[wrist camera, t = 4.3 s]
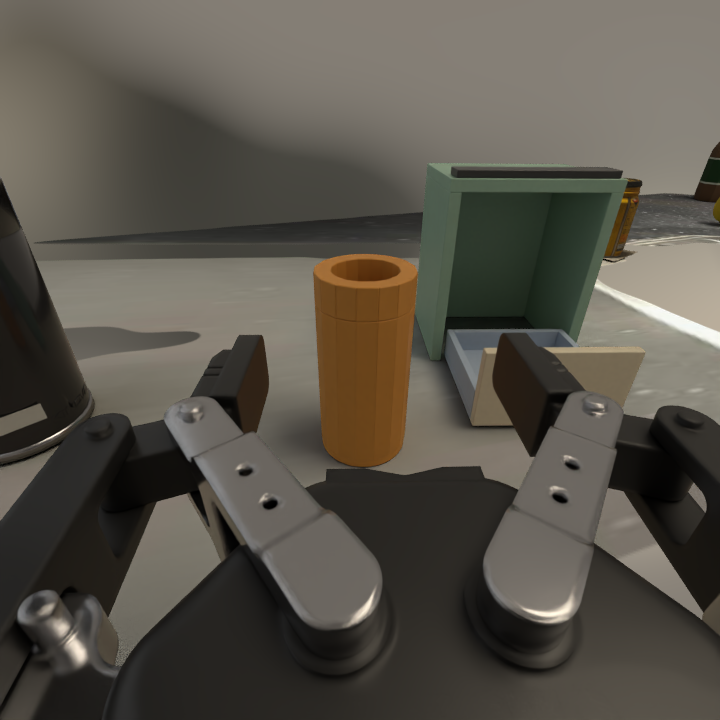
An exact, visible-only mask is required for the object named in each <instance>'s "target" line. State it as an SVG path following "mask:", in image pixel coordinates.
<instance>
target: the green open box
mask: <svg viewBox="0 0 720 720" xmlns="http://www.w3.org/2000/svg"><path fill="white" fill-rule="evenodd" d="M622 173H623V171H622V170H617V169H613V168H608V167H574V166H570V165H565V164H433V163H431V164H429V163H428V164H427V176H426V188H425V199H424V211H423V223H422V235H421V247H420V259H419V271H418V283H417V295H416V307H415V315H416V318H417V321H418V324H419V327H420V330H421V333H422V336H423V339H424V342H425V345H426V348H427V351H428V354H429V357H430V360H441V352H442V344H443V337H444V329H445V321H446V317H523V316H524V317H525V318H526V319H527V321H528V322H529V323H530V324H531V325H532V326H533V327H534V329H563V330H564V331H565V332H566V333H567V334H568V335H569V337H570V338H571V339H572V340H573V341H574V342H575V343H576V342H577V339H578V336H579V332H580V329H581V326H582V323H583V320H584V317H585V314H586V311H587V307H588V304H589V301H590V298H591V295H592V292H593V289H594V285H595V282H596V279H597V276H598V273H599V270H600V267H601V263H602V260H603V257H604V254H605V251H606V248H607V245H608V242H609V238H610V235H611V232H612V229H613V226H614V223H615V220H616V216H617V213H618V210H619V207H620V204H621V201H622V198H623V194H624V192H625V188H626V185H627V182H628V179H624V178H621V176H622Z"/></svg>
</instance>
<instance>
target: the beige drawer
mask: <svg viewBox="0 0 720 720" xmlns="http://www.w3.org/2000/svg"><path fill="white" fill-rule="evenodd" d="M502 333H527V334H528V335H529V337H530V338H531V339H532V340H533V341H534V343H535V344H536V345H537V346H538V347H543V348H545V349H546V350H548V351H550V352H551V353H553V354H555V356H556V357H557V358H558V359H559V360H560V361H561V362H562V365H564V366H565V367H566V368H567V369H568V372H570V373H571V374H572V375H573V376H574V377H575V378H576V380H577V381H578V382H579V383H580V384H581V385H582V386H583V388H584V389H585V390H586V391H591V392H596V393H599V394H602V395H605V396H607V397H609V398H611V399H613V400H614V401H616V402H617V403H618V404H619V405H620V406H621V407H623V405H624V403H625V400H626V398H627V396H628V393H629V391H630V389H631V386H632V384H633V382H634V379H635V377H636V375H637V372H638V370H639V367H640V365H641V363H642V360H643V358H644V356H645V353H646V352H645V351H644V350H643V349H642V348H640V347H579V346H578V345H577V344H576V343H575V342H574V341H573V340H572V339H571V338H570V337H569V335H568V334H567V333H566V332H565V331H564V330H563V329H454V330H453V329H447V334H446V341H445V350H444V356H445V358H446V361H447V363H448V366H449V368H450V371H451V373H452V376H453V378H454V381H455V383H456V386H457V388H458V391H459V393H460V396H461V398H462V401H463V403H464V406H465V408H466V411H467V413H468V416H469V418H470V421H471V423H472V425H473V426H494V425H513V424H512V422H511V420H510V418H509V416H508V415H507V413H506V411H505V409H504V407H503V405H502V403H501V402H500V400H499V398H498V396H497V394H496V392H495V390H494V388H493V383H492V373H493V368H494V362H495V357H496V352H497V347H498V342H499V338H500V336H501V334H502Z"/></svg>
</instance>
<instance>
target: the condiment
mask: <svg viewBox="0 0 720 720" xmlns="http://www.w3.org/2000/svg"><path fill="white" fill-rule="evenodd" d="M624 179H628V178H624ZM641 186H642V181H641V180H637V179H630V178H629V179H628V182H627V185H626V188H625V192H624V194H623V198H622V201H621V204H620V207H619V210H618V213H617V216H616V220H615V223H614V226H613V229H612V232H611V235H610V238H609V242H608V245H607V248H606V251H605V254H604V257H603V259H607V260H612V261H617V260H620V259H623V258H625V257H627V256H629V255H632V254H634V253H636V252H635V251H627V250H623V248H624V246H625V243H626V239H627V236H628V233H629V230H630V227H631V224H632V221H633V219H634V215H635V213H636V210H637V207H638V204H639V199H638V195H639V193H640V187H641Z"/></svg>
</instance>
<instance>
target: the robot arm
mask: <svg viewBox="0 0 720 720" xmlns="http://www.w3.org/2000/svg"><path fill="white" fill-rule="evenodd" d="M492 383H493V388H494V390H495V392H496V394H497V396H498V398H499V400H500V402H501V403H502V405H503V407H504V409H505V411H506V413H507V415H508V416H509V418H510V420H511V422H512V424H513V426H514V428H515V429H516V431H517V433H518V435H519V437H520V439H521V441H522V442H523V444H524V446H525V448H526V450H527V452H528V454H529V455H530V457H535V458H534V460H533V462H532V464H531V466H530V468H529V470H528V472H527V474H526V476H525V478H524V480H523V482H522V485H521V487H520V489H519V490H517V489H515V488H513V487H511V486H509V485H507V484H504V483H501V482H498V481H495V480H491V479H487V478H485V477H484V475H483V472H482V470H481V467H480V466H470V467H441V468H436V469H432V470H428V471H423V472H419V473H414V474H410V475H399V474H393V473H387V472H382V471H376V470H370V469H365V468H364V469H327V472H326V481H323V482H320V483H317V484H314V485H311V486H309V487H307V488H304V487H303V486H302V485H301V484H300V482H299V481H298V480H297V479H296V478H295V477H294V476H293V474H292V473H291V472H290V471H289V470H288V469H287V468H286V467H285V465H284V464H283V463H282V462H281V461H280V460H279V459H278V457H277V456H276V455H275V454H274V453H273V452H272V451H271V450H270V448H269V447H268V446H267V445H266V444H265V443H264V442H263V440H262V439H261V438H260V437H259V436H258V435H257V434H256V432H257V429H258V425H259V422H260V418H261V415H262V411H263V408H264V404H265V401H266V397H267V394H268V388H269V375H268V368H267V360H266V353H265V345H264V339H263V336H262V335H239V336H238V338H237V340H236V342H235V344H234V346H233V348H232V350H222V351H221V352H220V353H218V354H217V355H216V356H214V357H213V358H212V360H211V361H210V363H209V365H208V368H207V369H206V370H205V372H204V374H203V376H202V377H201V379H200V381H199V383H198V385H197V386H196V388H195V390H194V392H193V393H192V395H191V397H190V398H186V399H183V400H181V401H179V402H177V403H175V404H173V405H172V406H171V407H170V408H168V410H167V411H166V412H165V415H164V419H163V420H160V421H156V422H152V423H147V424H143V425H138V426H134V427H132V425H131V423H130V420H129V418H128V417H127V416H125V415H122V414H117V413H109V414H103V415H99V416H95V417H92V418H90V419H89V417H90V416H91V414H92V412H93V409H94V399H93V397H92V394H91V392H90V390H89V389H88V388H87V386H86V383H85V381H84V378H83V376H82V374H81V371H80V369H79V366H78V364H77V361H76V358H75V356H74V353H73V351H72V349H71V346H70V344H69V341H68V339H67V336H66V334H65V332H64V329H63V327H62V324H61V322H60V319H59V317H58V314H57V312H56V310H55V307H54V305H53V302H52V300H51V297H50V295H49V293H48V290H47V288H46V285H45V283H44V280H43V278H42V276H41V273H40V271H39V268H38V266H37V263H36V261H35V259H34V256H33V254H32V251H31V249H30V246H29V244H28V242H27V239H26V237H25V234H24V232H23V229H22V227H21V225H20V222H19V220H18V218H17V215H16V213H15V210H14V208H13V205H12V203H11V200H10V198H9V196H8V193H7V191H6V188H5V186H4V183H3V181H2V178H1V177H0V464H4V463H9V462H13V461H16V460H20V459H23V458H26V457H29V456H31V455H34V454H37V453H39V452H41V451H44V450H46V449H48V448H50V447H52V446H54V445H56V444H57V443H59V442H61V441H63V440H64V439H65V440H64V441H63V442H62V443H61V445H60V446H59V447H58V448H57V450H56V451H55V452H54V454H53V455H52V456H51V457H50V459H49V460H48V461H47V462H46V464H45V465H44V466H43V468H42V469H41V470H40V471H39V473H38V474H37V475H36V476H35V478H34V479H33V480H32V482H31V483H30V484H29V485H28V487H27V488H26V489H25V490H24V492H23V493H22V494H21V496H20V497H19V498H18V499H17V501H16V502H15V503H14V504H13V506H12V507H11V508H10V510H9V511H8V512H7V513H6V515H5V516H4V517H3V518H2V520H1V521H0V720H720V426H719V425H718V424H717V423H716V422H715V421H714V420H712V419H711V418H709V417H708V416H706V415H704V414H702V413H700V412H698V411H695V410H692V409H689V408H685V407H681V406H663V407H661V408H659V409H658V411H657V413H656V415H655V417H654V419H647V418H641V417H636V416H630V415H625V414H624V412H623V409H622V407H621V406H620V405H619V404H618V403H617V402H616V401H614V400H613V399H611V398H609V397H607V396H605V395H602V394H599V393H596V392H591V391H586V390H585V389H584V388H583V386H582V385H581V384H580V383H579V382H578V381H577V380H576V378H575V377H574V376H573V375H572V374H571V373H570V372H568V369H567V368H566V367H565V366H564V365H562V362H561V361H560V360H559V359H558V358H557V357H556V356H555V354H553V353H551V352H550V351H548V350H546V349H545V348H543V347H538V346H537V345H536V344H535V343H534V341H533V340H532V339H531V338H530V337H529V335H528V334H527V333H502V334H501V336H500V338H499V342H498V347H497V352H496V357H495V362H494V368H493V373H492ZM693 483H695V484H696V485H697V487H698V488H699V489H700V490H701V491H702V493H703V494H704V496H705V499H706V503H707V510H706V513H705V512H704V511H703V510H702V508H701V507H700V506H699V505H698V504H697V502H696V501H695V500H694V499H693V498H692V496H691V495H690V494H689V493H688V491H689V490H690V488H691V486H692V484H693ZM607 488H611V489H616V490H620V491H624V493H625V494H626V496H627V498H628V499H629V501H630V502H631V504H632V505H633V507H634V508H635V510H636V511H637V513H638V514H639V516H640V517H641V519H642V520H643V522H644V523H645V525H646V526H647V528H648V529H649V531H650V532H651V534H652V535H653V537H654V538H655V540H656V542H657V543H658V545H659V546H660V548H661V549H662V551H663V552H664V554H665V555H666V557H667V558H668V560H669V561H670V563H671V564H672V566H673V567H674V569H675V570H676V572H677V573H678V575H679V576H680V578H681V579H682V581H683V582H684V584H685V585H686V587H687V588H688V590H689V591H690V593H691V595H692V596H693V598H694V599H695V600H696V602H697V604H698V605H699V607H700V608H701V609H702V611H703V616H702V620H701V619H700V618H698V617H697V616H696V615H695V614H693V613H692V612H690V611H689V610H687V609H686V608H685V607H683V606H682V605H680V604H679V603H678V602H676V601H675V600H673V599H672V598H670V597H669V596H668V595H666V594H665V593H663V592H662V591H661V590H659V589H658V588H657V587H655V586H654V585H652V584H651V583H650V582H648V581H647V580H645V579H644V578H642V577H641V576H640V575H638V574H637V573H635V572H634V571H633V570H631V569H630V568H628V567H627V566H625V565H624V564H623V563H621V562H620V561H619V560H617V559H616V558H614V557H613V556H612V555H610V554H609V553H607V552H606V551H605V550H603V549H602V548H600V547H599V546H598V545H596V544H595V543H594V539H595V535H596V531H597V527H598V523H599V519H600V515H601V512H602V508H603V504H604V500H605V496H606V492H607ZM183 494H187V495H188V497H189V499H190V501H191V503H192V504H193V506H194V508H195V510H196V512H197V513H198V515H199V517H200V519H201V521H202V522H203V524H204V526H205V528H206V530H207V531H208V533H209V535H210V537H211V539H212V541H213V543H214V545H215V548H216V550H217V553H218V555H219V558H220V560H221V563H220V564H219V565H218V566H217V567H216V568H215V569H214V570H213V571H212V572H211V573H209V574H208V575H207V576H206V577H205V578H204V579H203V580H202V581H201V582H200V583H199V584H198V585H197V586H196V587H195V588H194V589H193V590H192V591H191V592H190V593H189V594H188V595H187V596H185V597H184V598H183V599H182V600H181V601H180V602H179V603H178V604H177V605H176V606H175V607H174V608H173V609H172V610H171V611H170V612H169V613H168V614H167V615H166V616H165V617H164V618H162V619H161V620H160V621H159V622H158V623H157V624H156V625H155V626H154V627H153V628H152V629H151V630H150V631H149V632H148V633H147V634H146V635H145V636H144V637H143V638H142V639H141V640H140V642H139V643H138V644H137V645H136V647H135V648H134V649H133V650H132V652H131V653H130V654H129V656H128V658H127V659H126V661H125V662H124V664H123V665H122V666H120V667H119V666H115V661H116V657H117V652H118V647H119V640H118V635H117V632H116V631H115V629H114V627H113V625H112V624H111V622H110V620H109V618H108V617H109V614H110V612H111V609H112V607H113V605H114V602H115V600H116V597H117V595H118V593H119V590H120V588H121V586H122V583H123V581H124V578H125V576H126V574H127V571H128V569H129V566H130V564H131V562H132V559H133V557H134V555H135V552H136V550H137V547H138V545H139V543H140V540H141V538H142V535H143V533H144V531H145V528H146V526H147V524H148V521H149V519H150V516H151V514H152V512H153V509H154V507H155V505H156V502H157V501H161V500H164V499H168V498H172V497H175V496H179V495H183Z"/></svg>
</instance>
